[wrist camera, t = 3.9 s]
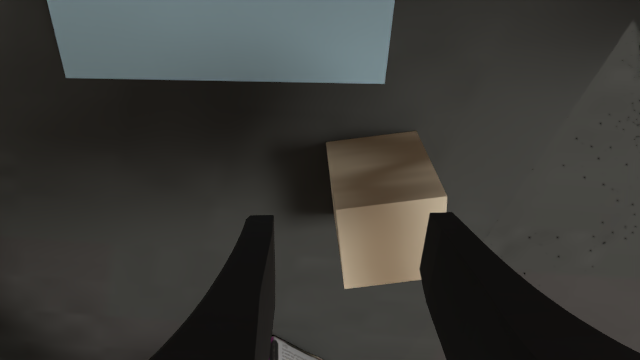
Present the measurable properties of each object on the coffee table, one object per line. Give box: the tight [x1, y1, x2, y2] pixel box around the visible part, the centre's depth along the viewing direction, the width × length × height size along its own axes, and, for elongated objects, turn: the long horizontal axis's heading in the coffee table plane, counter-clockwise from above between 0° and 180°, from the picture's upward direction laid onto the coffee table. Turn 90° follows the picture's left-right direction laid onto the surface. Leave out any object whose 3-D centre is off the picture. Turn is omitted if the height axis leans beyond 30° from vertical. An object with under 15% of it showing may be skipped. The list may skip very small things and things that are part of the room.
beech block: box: [326, 131, 447, 289], centre depth 21 cm, size 4×4×5 cm
